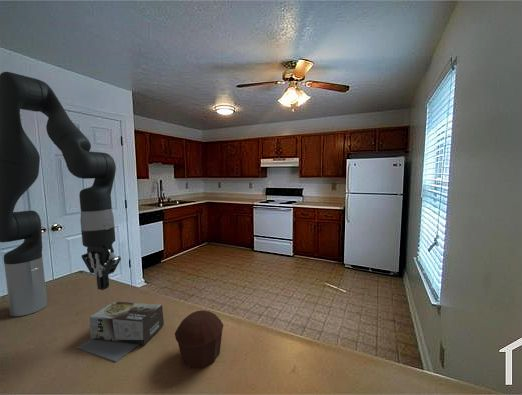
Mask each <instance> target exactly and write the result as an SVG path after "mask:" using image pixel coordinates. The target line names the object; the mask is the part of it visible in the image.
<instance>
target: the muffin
mask: <svg viewBox="0 0 522 395" xmlns="http://www.w3.org/2000/svg"><path fill="white" fill-rule="evenodd" d="M223 330H224V323H223V322H222V320H221V319H220V317H219V316H218V315H216V314H215V313H214V312H212V311H209V310H196V311H194V312H192V313H190V314H189V315H187V316H186V317H184V318H183V319H182V321H181V322H180V324H179V325H178V327H177V328H176V330H175V332H174V338H175V340H176V342H177V344H178V349H179V353H180V357H181V361H182V364H183V365H185V366H186V367H188V368H189V369H204V368H206V367H208V366H209V365H212V364H214V363H215V361H216V360H217V358H218V357H219V356H220V354H221V345H222V338H223V337H222V336H223Z"/></svg>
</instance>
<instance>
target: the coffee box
mask: <svg viewBox="0 0 522 395" xmlns="http://www.w3.org/2000/svg"><path fill="white" fill-rule="evenodd" d="M163 312H164V311H163V304H156V303H155V304H152V303H142V302H141V303H139V302H127V301H124V302H123V301H113V302H111V303H110V304H108V305H107V306H105V307H104V308H101V309H100V310H99V311H96V312H95V313H93V314H92V315H90V316H89V328H90V339H101V340H108V341H117V342H126V343H134V344H139V345H143V346H145V345H146V344H147V343H148V342H149V341H150V340H151V339H152V338H153V337H154V336H155V335H156V334H157V333H158V332H159V331H160V330H161V328H163V327H164V325H165V322H164V321H165V320H164V313H163Z"/></svg>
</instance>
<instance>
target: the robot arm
mask: <svg viewBox="0 0 522 395" xmlns="http://www.w3.org/2000/svg"><path fill="white" fill-rule="evenodd" d="M21 110H24V111H30V112H39V113H42V114H43V115H45V116H46V117H47V123H46V126H45V128H46V134H47V136H48V138H49V139H50V140H51V142H52V143H54V145H55V146H56V147H57V148H58V149H59V151H60V152H61V154H62V156H63V159H64V161H65V164H66V168H67V170H68V171H69V172H70V174H72V175H73V176H74V177H76V178H78V179H82V180H85V179H86V180H87V179H89V180H90V179H94V180H93V183H92V185H91V186H89V187H85V188H83V189H81V190H80V192H79V207H80V220H79V221H80V232H81V239H82V246H83V247H85V248H86V253H84V254H82V255H81V258H82V261H83V263H84V265H85V266H86V268H87V269H88V271H89V273H90V274H94V276H95V277H96V286H97V289H98V290H101V291H104V290H106V289H108V288H109V287H110V281H109V280H110V279H109V278H110V277H109V275H111V274H113V273H115V271H116V269H117V267H118V265H119V264H120V261H121V260H122V258H121V256H120V255H118V256H116V254H115V250H114V246H113V244H114V243H115V242H116V231H115V230H116V228H115V219H114V212H113V207H112V206H113V204H112V195H111V194H112V190H113V186H114V183H115V182H114V180H115V176H116V171H117V167H116V161H115V159H114V158H113V157H112V156H111V155H110V154H109V153H106V152H101V151H100V152H99V151H91V149H92V145H91V141H90V140H89V139H88V137H87V136H85V134H84V133H83V132H82V130H80V129H79V127H77V125H76V124H75V123H74V122H73V121H72V119H71V118H70V117H69V115H68V113H67V111H65V108H64V106H63V105H62V103H61V101H60V100H59V98H58V97H57V95H56V93H55V92H54V90H53V89H52V88H51V86H50V85H48V83H46V82H45V81H44V80H41V79H38V78H34V77H29V76H27V75H23V74H19V73H15V72H10V71H3V72H1V73H0V243H10V242H16V241H21V240H22V241H23V242H22V243H21V244H19V245H18V246H17V247H15V248H13V249H11V250H10V251H7V252H6V253H5V254H4V255H3V263H4V264H3V266H4V273H5V280H6V288H7V298H8V305H9V306H8V307H9V314H10V316H11V317H22V316H27V315H31V314H33V313H36V312H39V311H42V310H43V309H45V308H46V307H47V306H48V298H47V288H46V279H45V271H44V270H45V268H44V259H43V237H42V236H43V235H42V234H43V232H42V220H41V217H40V215H39V213H38V212H37V211H36V210H21V211H15V208H16V204H17V203H18V201H19V199H20V198H21V197H23V195H24V194H25V193H27V191H28V190H29V189H30V187H31V186H32V185H33V184H34V183H35V182H36V181H37V178H38V177H39V174H40V161H41V160H40V159H41V158H40V157H41V156H40V153H39V151H38V148H37V147H35V144H34V143H33V142H32V140H31V139H30V137H29V136H28V135H27V133H26V132H25V130H24V128H23V126H22V122H21Z"/></svg>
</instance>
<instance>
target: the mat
mask: <svg viewBox="0 0 522 395" xmlns="http://www.w3.org/2000/svg"><path fill="white" fill-rule="evenodd" d="M138 346H140V344H134V343H126V342H117V341H108V340H101V339H92V338H90V339H88V340H87V341H85V342H84V343H82V344H80V345H79V346H77V349H79V350H81V351H84V352H87V353H89V354H93V355H95V356H98V357H100V358H103V359H107V360H109V361H111V362H114V363H118V361H120V360H121V359H122V358H124V357H125V356H126V355H128V354H129V353H130V352H131V351H133V350H134V349H135V348H137V347H138Z"/></svg>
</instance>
